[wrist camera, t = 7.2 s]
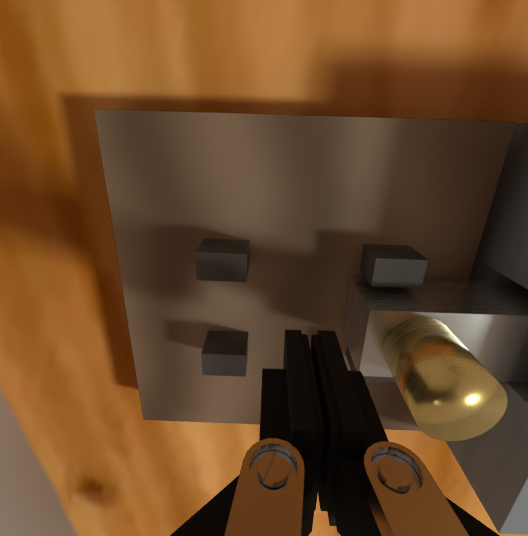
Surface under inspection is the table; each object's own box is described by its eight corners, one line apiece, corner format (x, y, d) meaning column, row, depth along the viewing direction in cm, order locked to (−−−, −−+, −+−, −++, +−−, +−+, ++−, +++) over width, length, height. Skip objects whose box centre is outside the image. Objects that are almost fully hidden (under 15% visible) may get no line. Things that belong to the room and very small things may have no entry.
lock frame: (155, 393, 20) (99, 516, 13) (117, 113, 14) (-18, 90, 7) (552, 408, 20) (690, 541, 13) (693, 130, 14) (1074, 123, 7)
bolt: (342, 332, 15) (382, 443, 10) (350, 276, 14) (401, 365, 9) (591, 342, 15) (774, 458, 10) (619, 286, 14) (846, 382, 9)
